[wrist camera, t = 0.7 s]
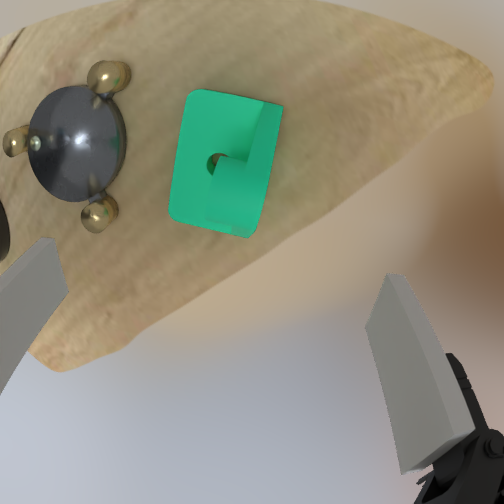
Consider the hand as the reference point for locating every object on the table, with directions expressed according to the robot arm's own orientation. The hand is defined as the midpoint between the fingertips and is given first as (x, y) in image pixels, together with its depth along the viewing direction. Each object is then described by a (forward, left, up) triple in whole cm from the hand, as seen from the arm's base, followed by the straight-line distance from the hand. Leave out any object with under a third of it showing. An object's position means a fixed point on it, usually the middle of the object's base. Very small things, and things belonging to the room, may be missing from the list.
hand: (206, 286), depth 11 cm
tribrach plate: (-20, -1, -18) cm, 27 cm away
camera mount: (-2, 0, -18) cm, 19 cm away
